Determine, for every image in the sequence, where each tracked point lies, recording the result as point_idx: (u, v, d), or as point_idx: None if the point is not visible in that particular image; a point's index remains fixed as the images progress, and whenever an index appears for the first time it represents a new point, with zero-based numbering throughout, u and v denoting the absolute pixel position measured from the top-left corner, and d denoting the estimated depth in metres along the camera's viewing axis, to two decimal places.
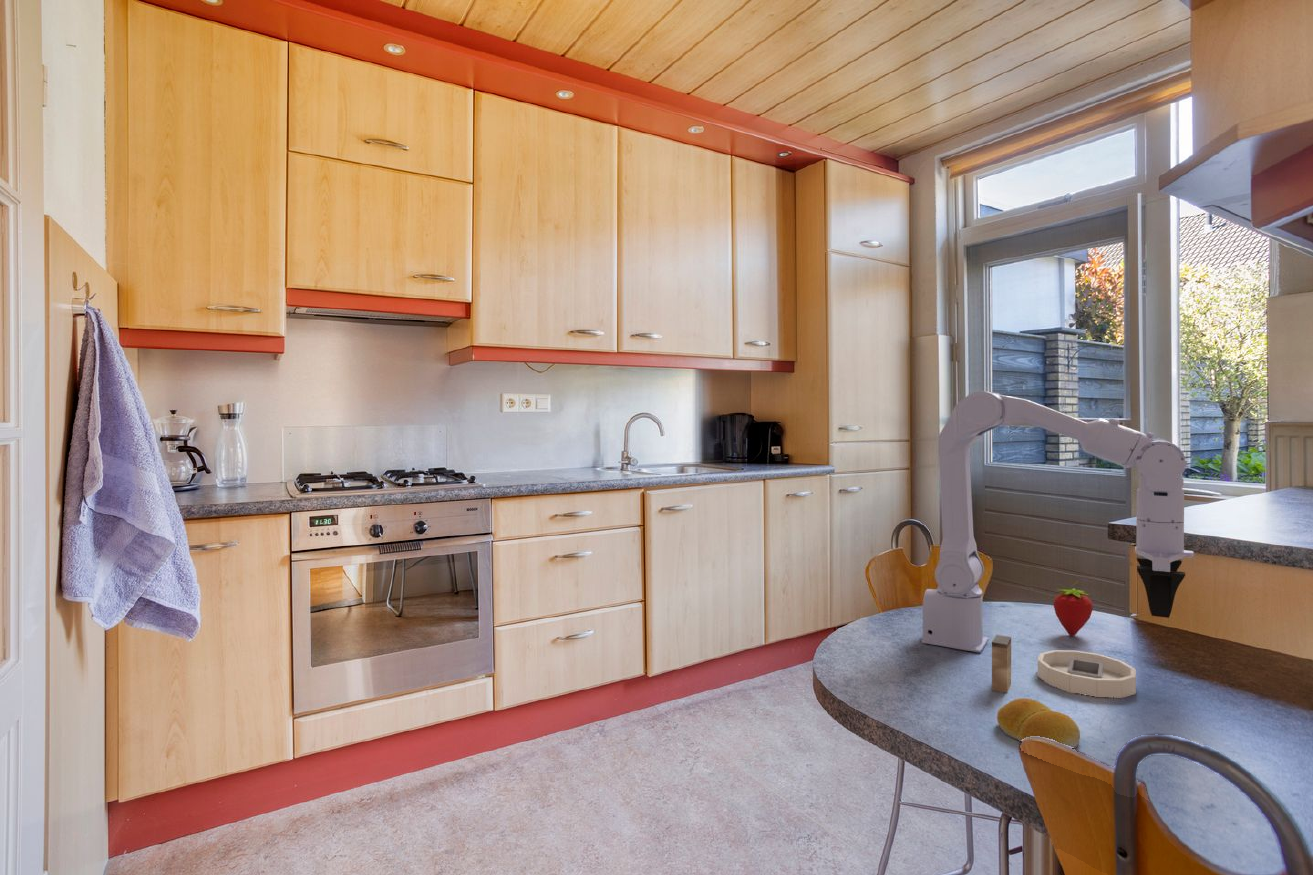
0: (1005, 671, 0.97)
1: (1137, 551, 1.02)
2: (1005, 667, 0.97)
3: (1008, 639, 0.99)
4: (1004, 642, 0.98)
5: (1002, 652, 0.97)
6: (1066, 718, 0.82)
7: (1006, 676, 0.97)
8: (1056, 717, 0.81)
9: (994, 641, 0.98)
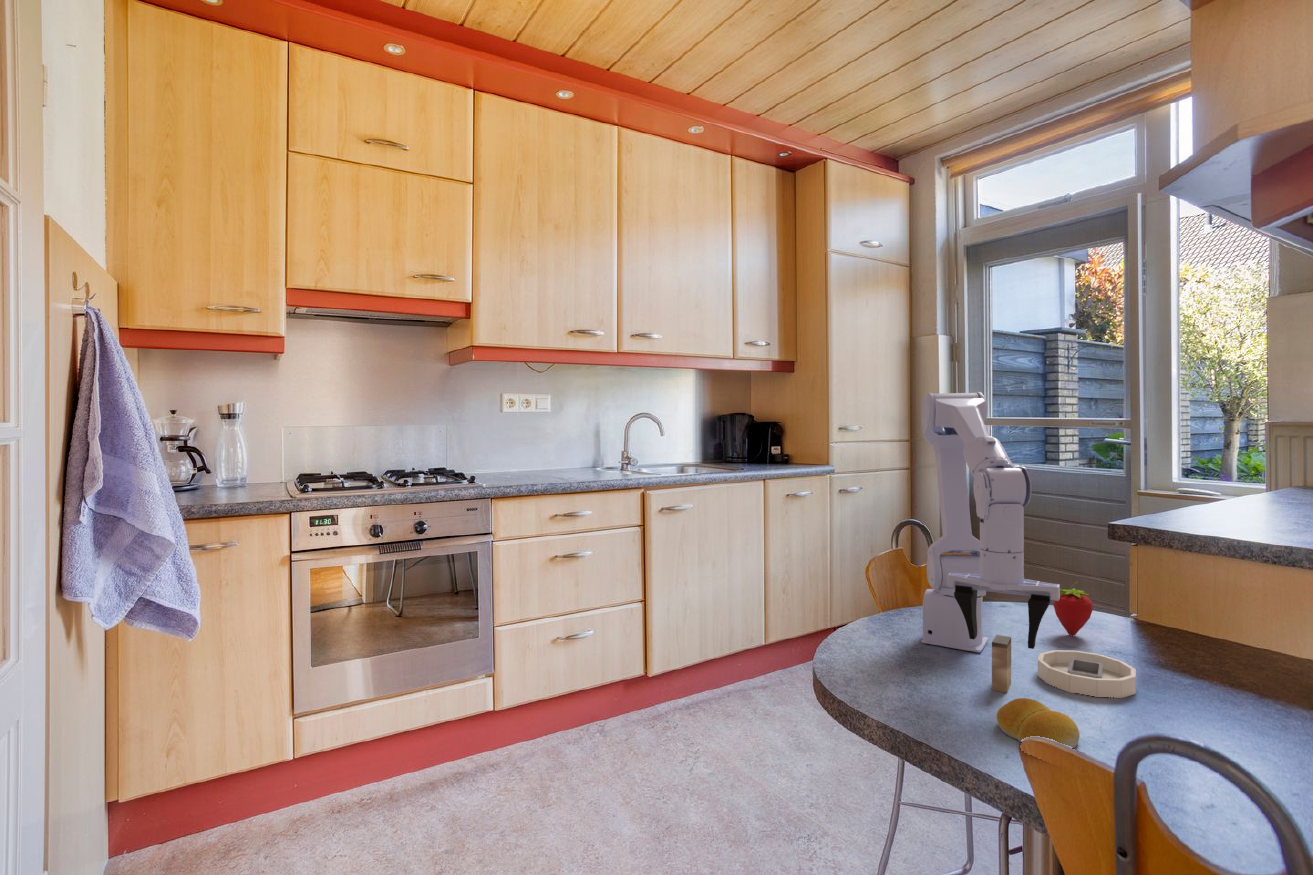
0: (1005, 671, 0.97)
1: None
2: (1005, 667, 0.97)
3: (1008, 639, 0.99)
4: (1004, 642, 0.98)
5: (1003, 652, 0.97)
6: (1066, 717, 0.82)
7: (1006, 676, 0.97)
8: (1056, 717, 0.81)
9: (994, 641, 0.98)
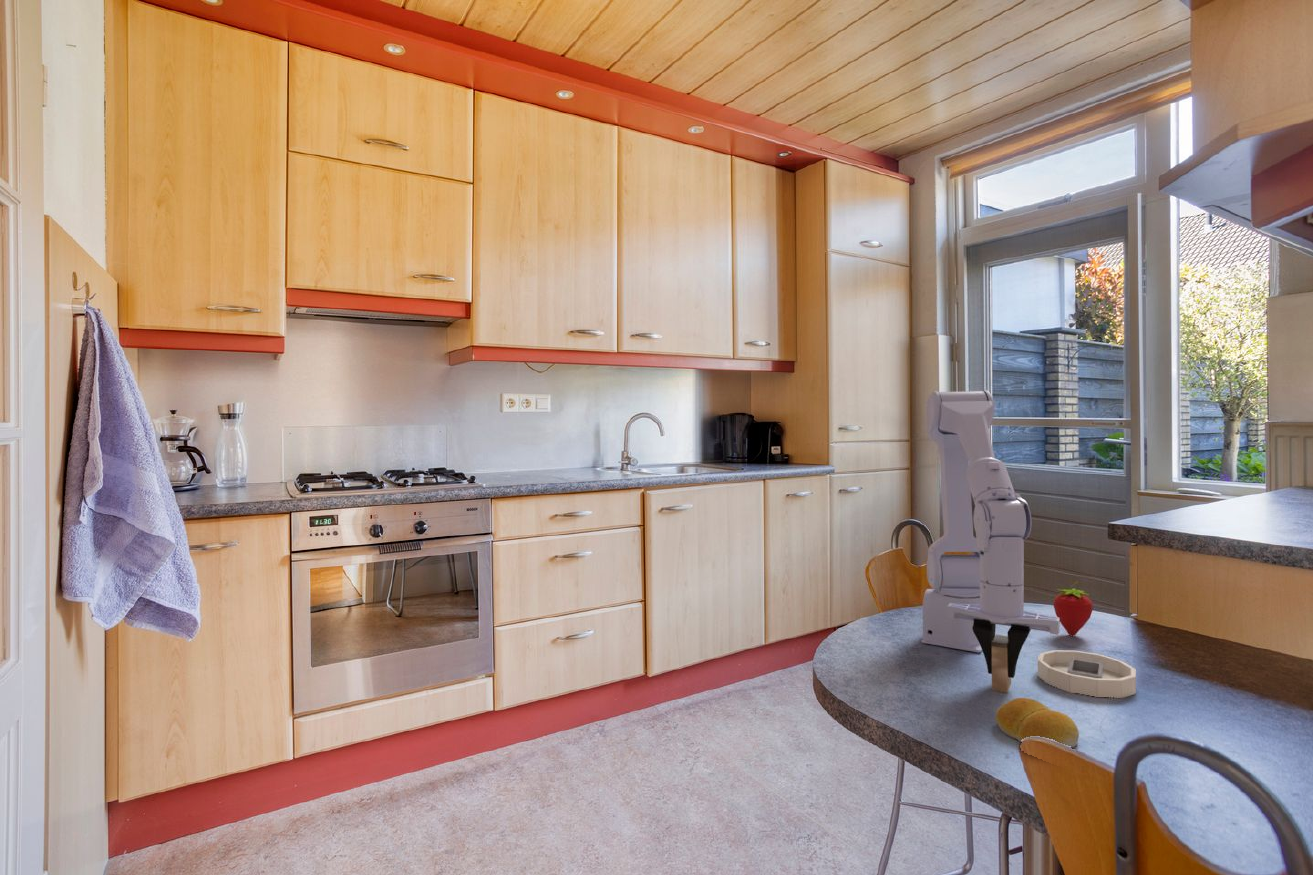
0: (1005, 671, 0.97)
1: None
2: (1005, 667, 0.97)
3: None
4: (1004, 642, 0.98)
5: (1002, 652, 0.97)
6: (1065, 717, 0.82)
7: (1006, 676, 0.97)
8: (1055, 716, 0.81)
9: (994, 641, 0.98)
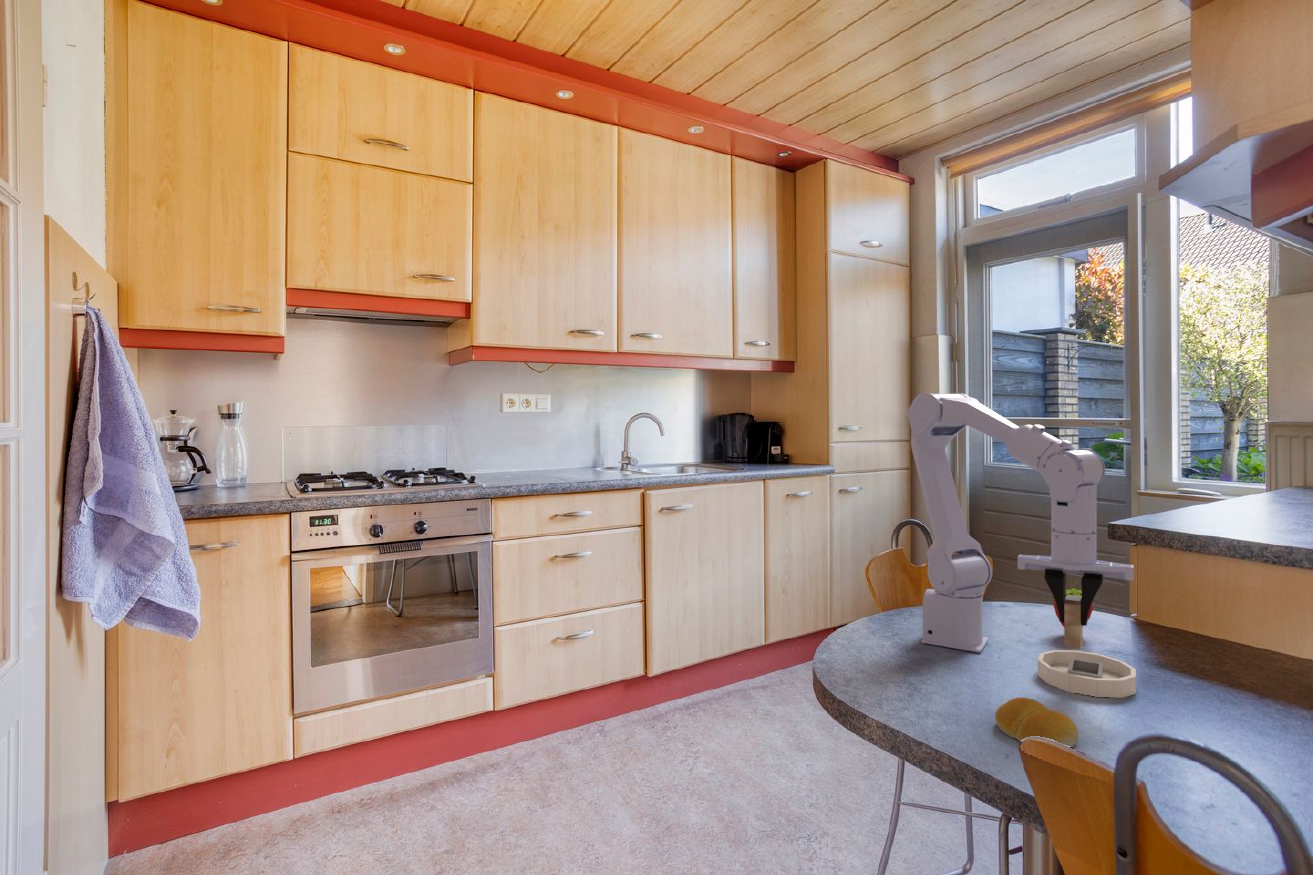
0: (1078, 628, 0.98)
1: None
2: (1078, 624, 0.98)
3: (1080, 597, 1.00)
4: (1077, 599, 0.99)
5: (1076, 609, 0.98)
6: (1064, 717, 0.82)
7: (1079, 633, 0.98)
8: (1055, 716, 0.82)
9: (1067, 599, 0.99)
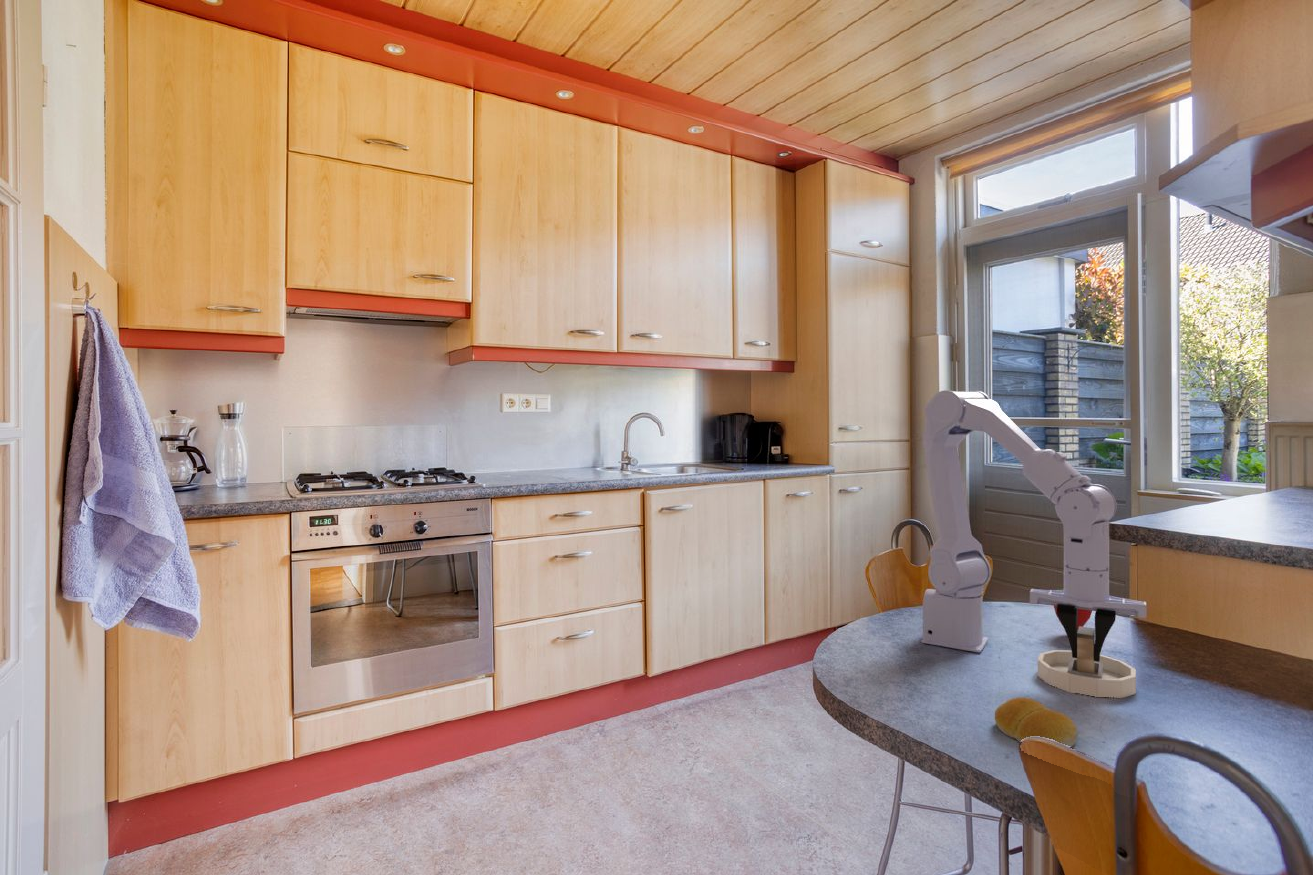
0: (1091, 662, 0.98)
1: None
2: (1091, 658, 0.98)
3: (1092, 630, 1.00)
4: (1089, 633, 0.99)
5: (1089, 643, 0.98)
6: (1063, 717, 0.82)
7: (1092, 667, 0.98)
8: (1054, 716, 0.82)
9: (1079, 632, 0.99)
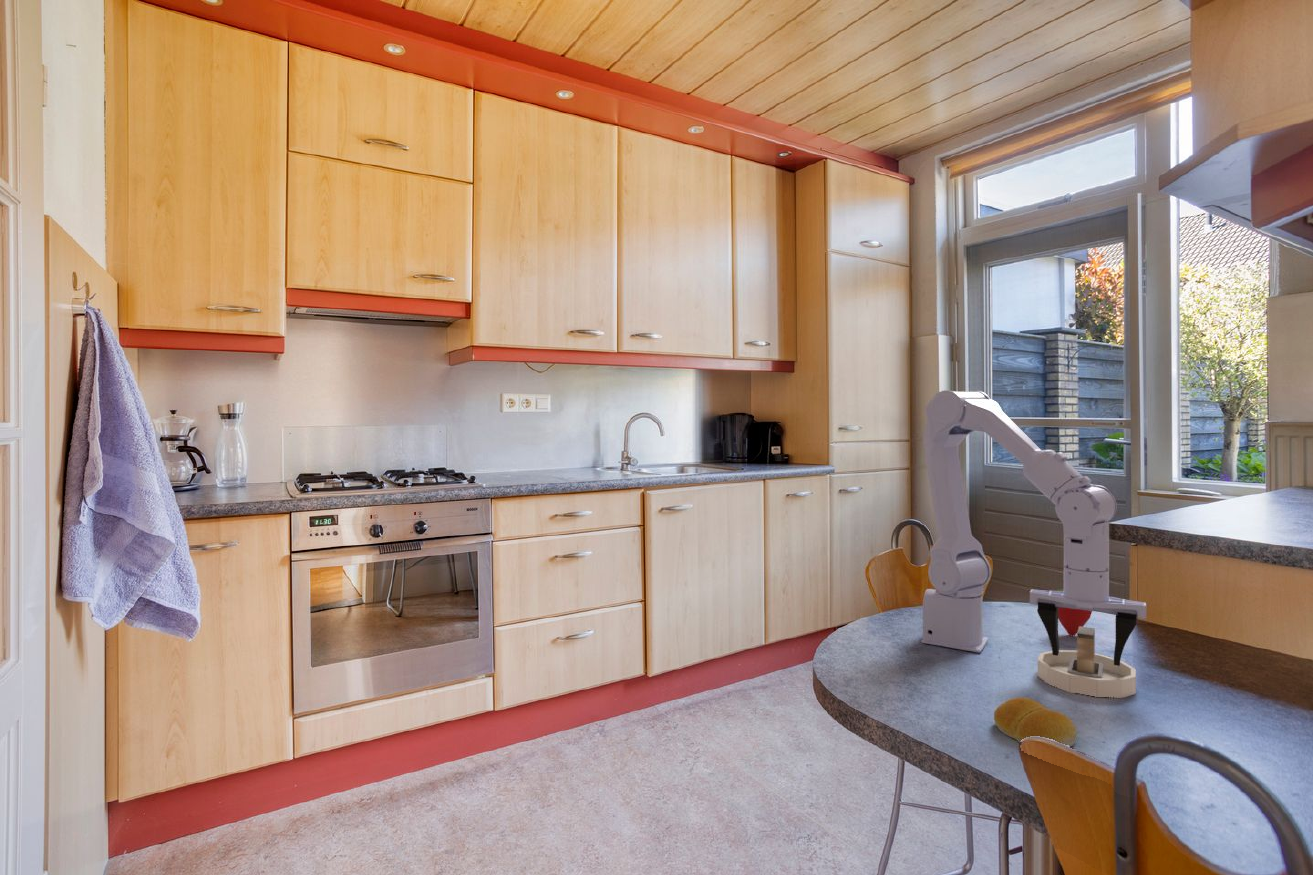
0: (1091, 662, 0.98)
1: None
2: (1091, 658, 0.98)
3: (1092, 630, 1.00)
4: (1089, 633, 0.99)
5: (1089, 643, 0.98)
6: (1063, 717, 0.82)
7: (1092, 667, 0.98)
8: (1053, 716, 0.82)
9: (1079, 632, 0.99)
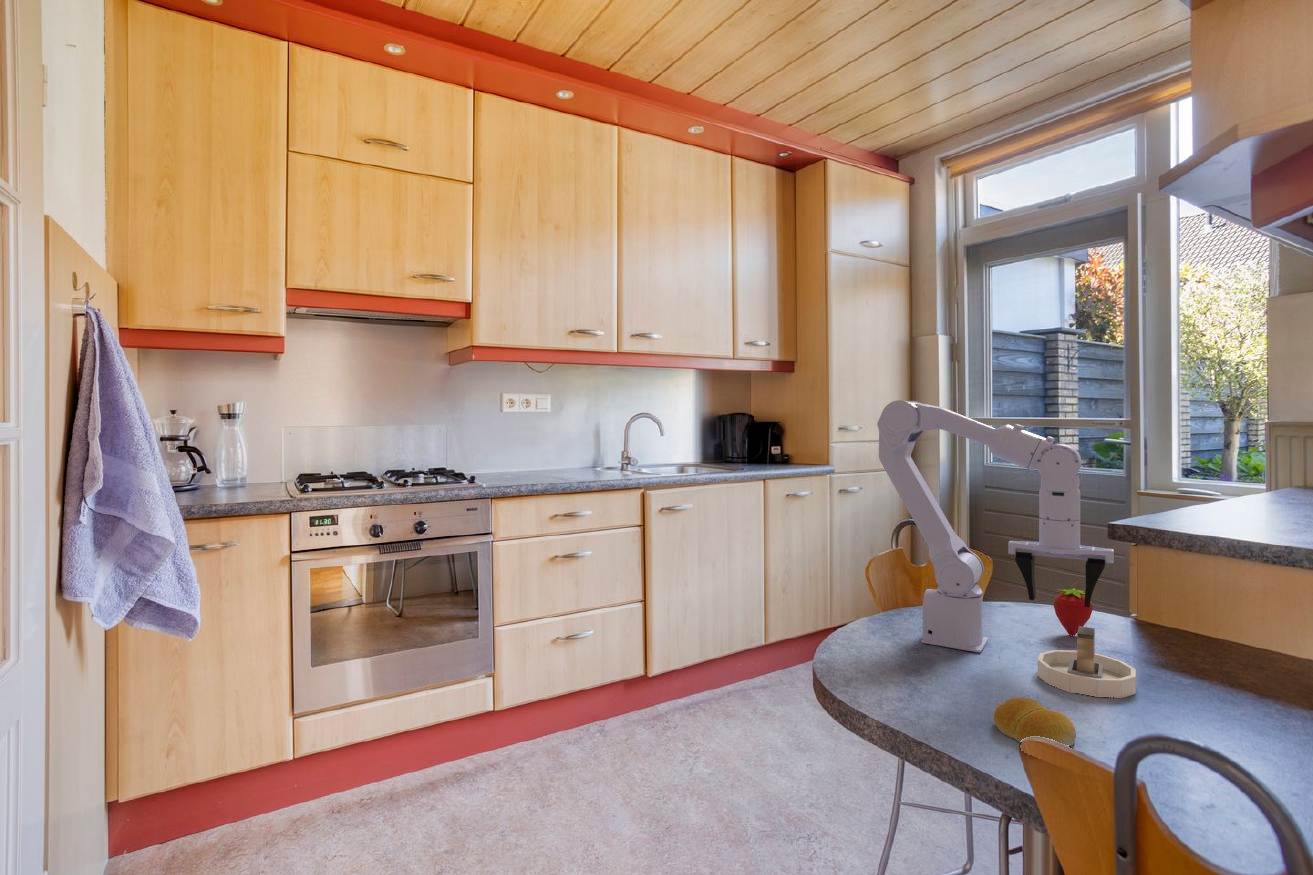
0: (1091, 662, 0.98)
1: None
2: (1091, 658, 0.98)
3: (1092, 630, 1.00)
4: (1089, 633, 0.99)
5: (1089, 643, 0.98)
6: (1062, 716, 0.82)
7: (1092, 667, 0.98)
8: (1053, 716, 0.82)
9: (1079, 632, 0.99)
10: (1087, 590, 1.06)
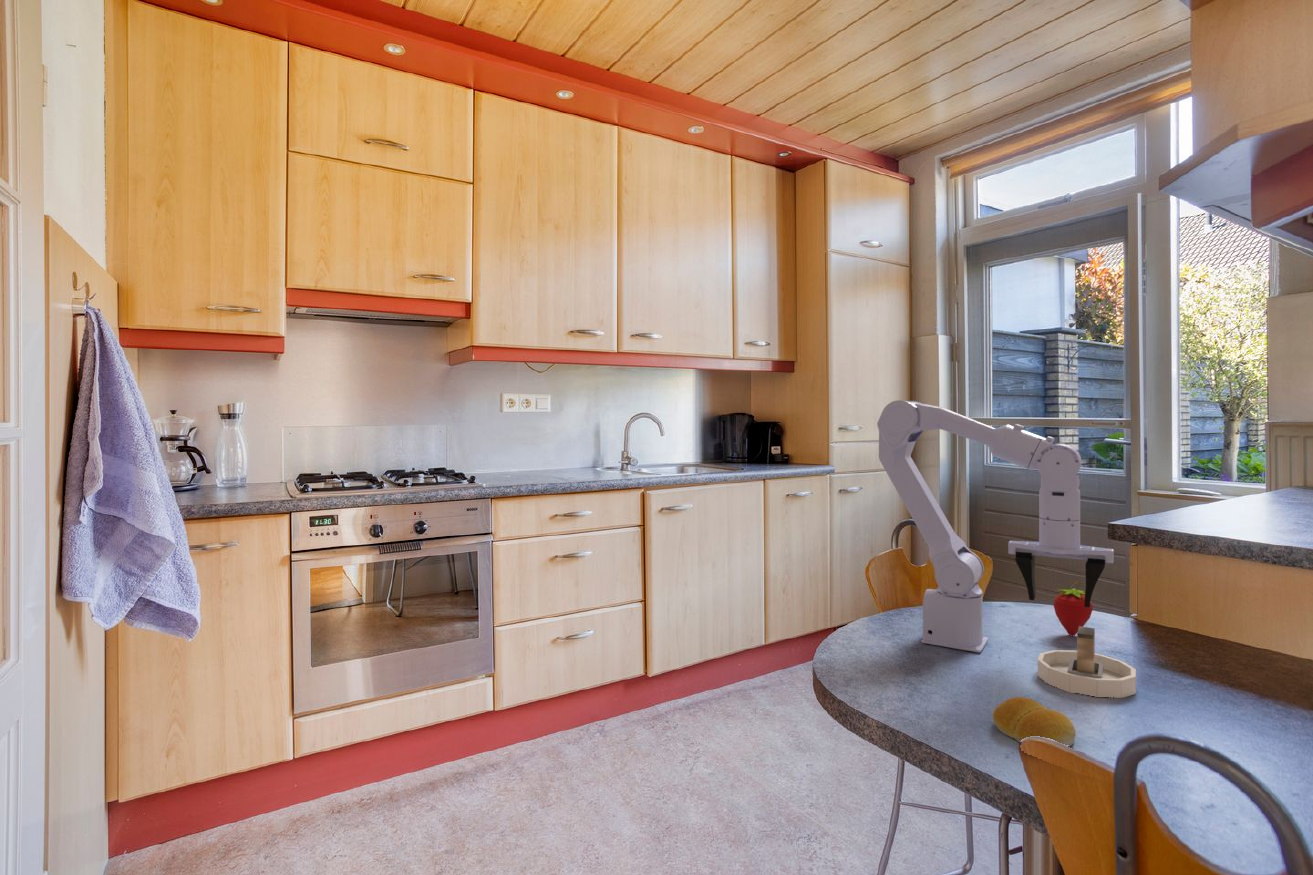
0: (1091, 662, 0.98)
1: None
2: (1091, 658, 0.98)
3: (1092, 630, 1.00)
4: (1089, 633, 0.99)
5: (1089, 643, 0.98)
6: (1062, 716, 0.82)
7: (1092, 667, 0.98)
8: (1052, 715, 0.82)
9: (1079, 632, 0.99)
10: (1087, 590, 1.06)
